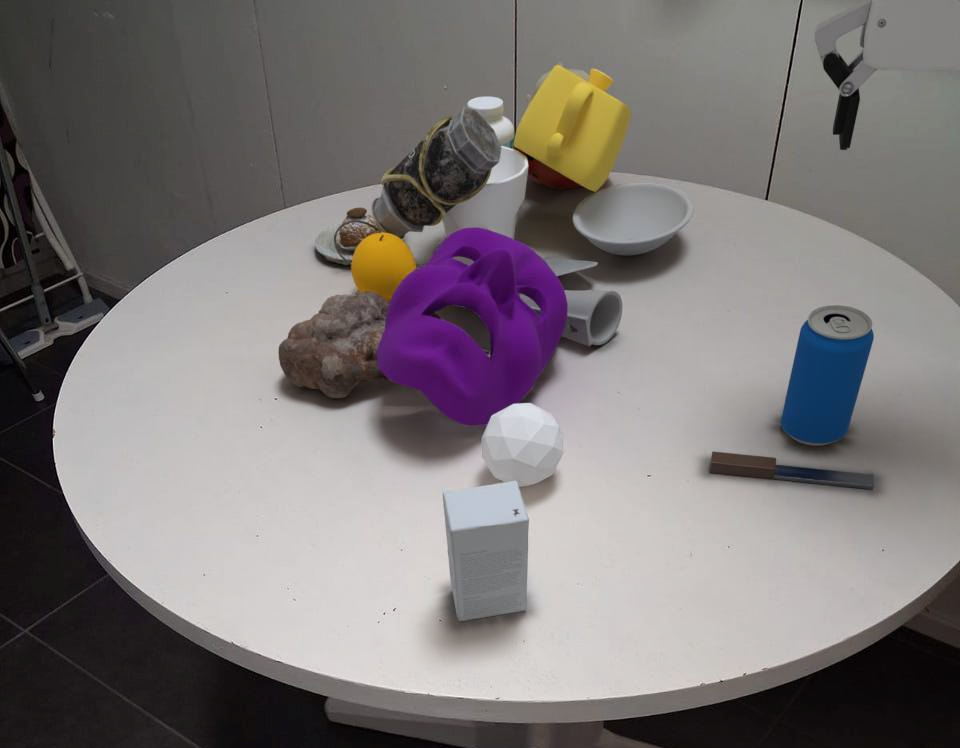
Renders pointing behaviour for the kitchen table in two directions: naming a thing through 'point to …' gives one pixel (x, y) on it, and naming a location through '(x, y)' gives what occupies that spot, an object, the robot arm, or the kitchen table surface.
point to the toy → (539, 169)
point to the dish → (632, 217)
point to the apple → (381, 264)
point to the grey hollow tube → (588, 315)
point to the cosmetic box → (487, 549)
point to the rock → (337, 344)
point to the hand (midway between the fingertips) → (905, 144)
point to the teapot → (575, 126)
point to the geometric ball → (522, 444)
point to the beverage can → (827, 374)
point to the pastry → (345, 236)
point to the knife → (784, 471)
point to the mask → (494, 298)
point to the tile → (568, 265)
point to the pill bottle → (494, 118)
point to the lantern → (436, 175)
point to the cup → (493, 200)
